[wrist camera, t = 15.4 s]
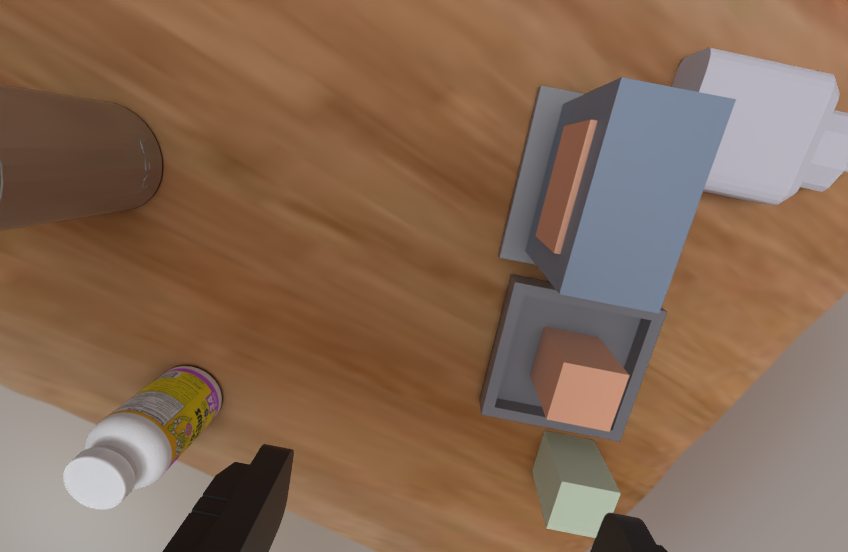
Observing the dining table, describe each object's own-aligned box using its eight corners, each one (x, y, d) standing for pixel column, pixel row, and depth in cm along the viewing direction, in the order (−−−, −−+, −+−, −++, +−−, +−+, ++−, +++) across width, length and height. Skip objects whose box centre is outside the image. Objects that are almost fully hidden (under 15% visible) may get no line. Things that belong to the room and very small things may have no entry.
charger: (813, 215, 36) (638, 178, 36) (866, 100, 34) (678, 59, 34) (866, 224, 32) (666, 181, 32) (932, 91, 29) (714, 44, 29)
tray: (479, 399, 42) (481, 414, 40) (511, 274, 39) (515, 282, 36) (610, 425, 42) (619, 441, 40) (653, 302, 39) (667, 311, 36)
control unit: (498, 255, 38) (522, 303, 26) (538, 87, 35) (589, 48, 22) (609, 276, 38) (686, 335, 26) (661, 111, 35) (782, 85, 22)
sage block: (531, 471, 44) (546, 528, 38) (544, 430, 43) (562, 481, 36) (579, 481, 44) (603, 539, 38) (593, 440, 43) (620, 493, 36)
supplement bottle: (209, 431, 45) (119, 535, 33) (151, 401, 45) (37, 495, 32) (235, 383, 44) (150, 473, 31) (175, 351, 43) (64, 430, 31)
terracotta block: (530, 375, 40) (546, 419, 34) (544, 326, 39) (563, 362, 32) (582, 385, 40) (609, 431, 34) (598, 337, 39) (629, 375, 32)
